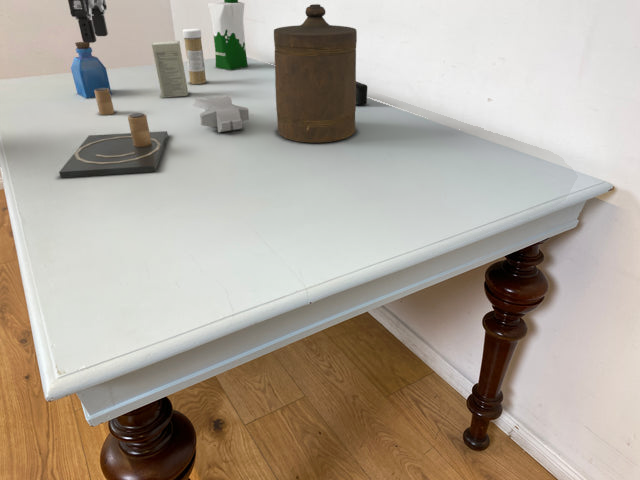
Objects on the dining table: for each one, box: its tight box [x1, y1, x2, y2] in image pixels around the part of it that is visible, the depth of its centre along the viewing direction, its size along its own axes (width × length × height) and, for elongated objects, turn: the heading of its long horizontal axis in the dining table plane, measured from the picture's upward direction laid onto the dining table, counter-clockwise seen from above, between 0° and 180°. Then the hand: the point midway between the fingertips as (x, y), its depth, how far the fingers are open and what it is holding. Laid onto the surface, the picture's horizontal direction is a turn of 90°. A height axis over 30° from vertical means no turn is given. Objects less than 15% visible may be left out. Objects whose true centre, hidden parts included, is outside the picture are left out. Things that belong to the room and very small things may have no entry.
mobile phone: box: [356, 80, 368, 106], centre depth 112 cm, size 5×3×15 cm
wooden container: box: [273, 3, 358, 144], centre depth 87 cm, size 15×15×22 cm
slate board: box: [58, 130, 169, 179], centre depth 82 cm, size 14×18×1 cm
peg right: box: [127, 112, 151, 147], centre depth 82 cm, size 3×3×5 cm
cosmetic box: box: [151, 40, 189, 98], centre depth 115 cm, size 6×4×12 cm
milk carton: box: [207, 0, 249, 71], centre depth 144 cm, size 9×9×20 cm
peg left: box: [94, 88, 115, 116], centre depth 103 cm, size 3×3×5 cm
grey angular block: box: [193, 94, 250, 133], centre depth 96 cm, size 10×5×15 cm
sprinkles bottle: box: [182, 28, 207, 85], centre depth 127 cm, size 5×5×13 cm
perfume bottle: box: [70, 41, 113, 99], centre depth 117 cm, size 6×6×12 cm
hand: (96, 39), depth 90 cm, fingers open, 8 cm apart
